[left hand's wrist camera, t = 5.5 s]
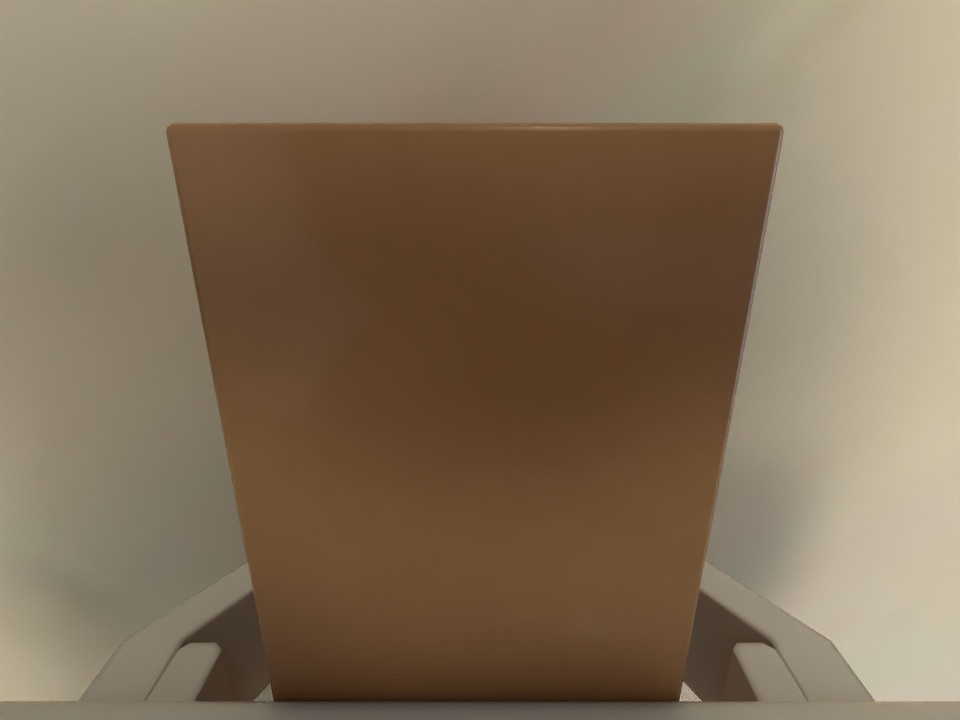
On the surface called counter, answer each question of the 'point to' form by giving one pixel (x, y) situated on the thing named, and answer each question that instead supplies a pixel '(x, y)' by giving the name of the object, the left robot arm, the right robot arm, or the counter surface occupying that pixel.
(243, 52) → the counter surface
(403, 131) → the post
